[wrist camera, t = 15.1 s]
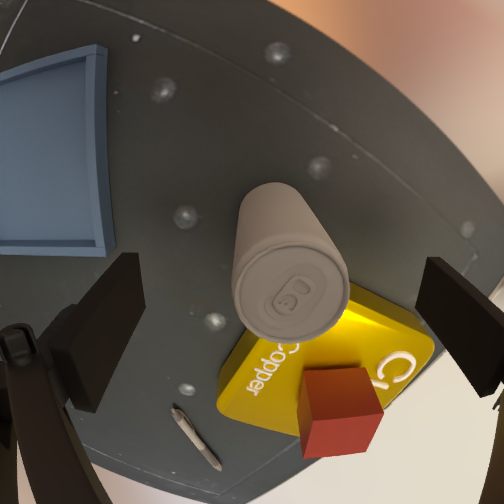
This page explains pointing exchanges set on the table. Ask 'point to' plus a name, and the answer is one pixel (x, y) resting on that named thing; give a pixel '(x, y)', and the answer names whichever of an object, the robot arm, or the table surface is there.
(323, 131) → the table surface
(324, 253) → the beverage can
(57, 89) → the slate tray
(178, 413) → the pen
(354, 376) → the red block
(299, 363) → the element tile
